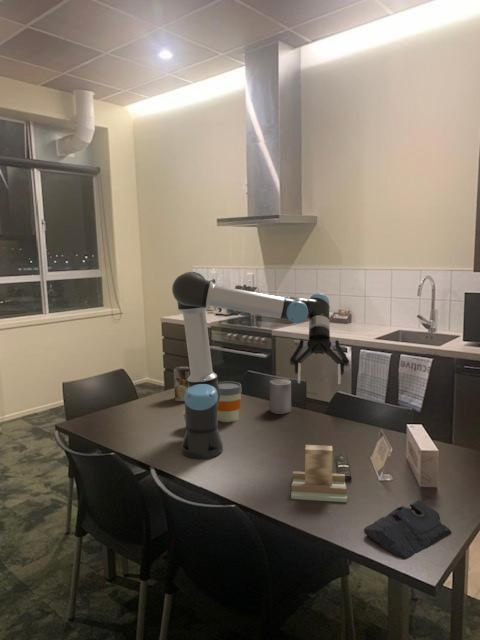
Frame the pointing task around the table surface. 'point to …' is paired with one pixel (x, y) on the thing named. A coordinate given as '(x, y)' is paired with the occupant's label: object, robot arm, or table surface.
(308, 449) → the tan upright rectangular block
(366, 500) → the table surface
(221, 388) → the reusable coffee cup
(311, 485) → the groove board
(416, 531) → the folded dark sweater
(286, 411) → the grey tin can
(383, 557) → the table surface
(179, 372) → the coffee box
